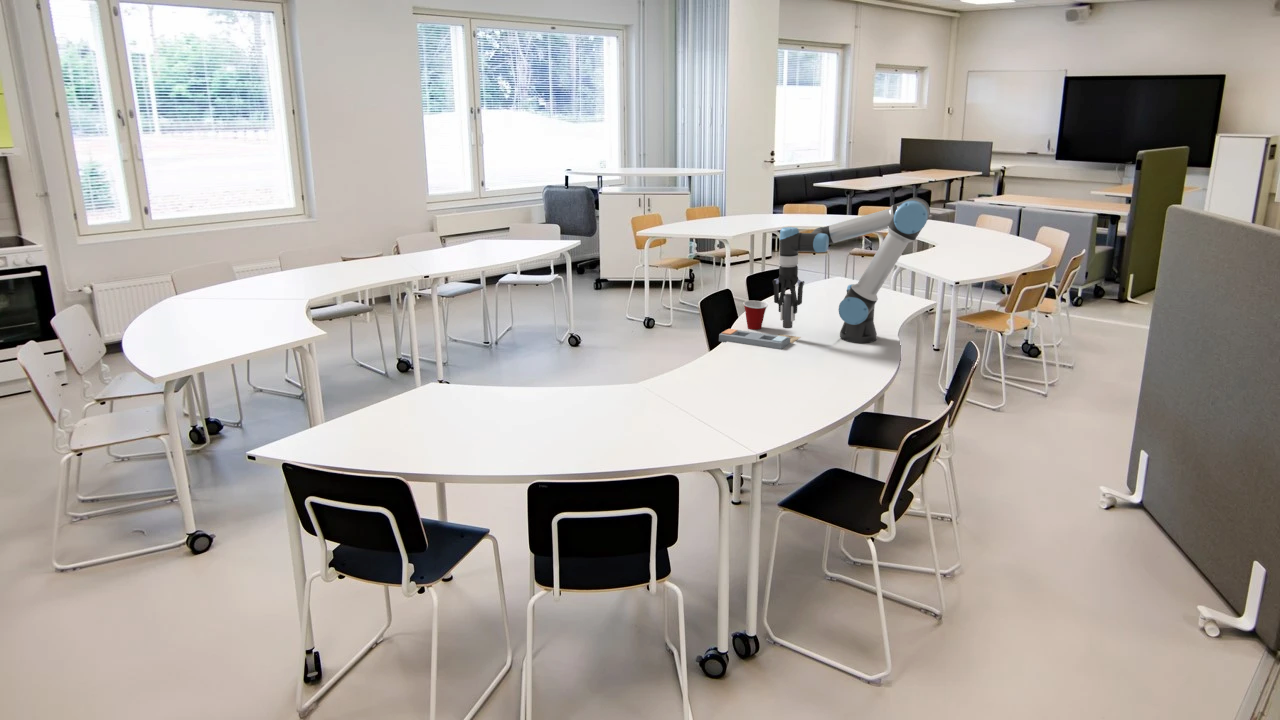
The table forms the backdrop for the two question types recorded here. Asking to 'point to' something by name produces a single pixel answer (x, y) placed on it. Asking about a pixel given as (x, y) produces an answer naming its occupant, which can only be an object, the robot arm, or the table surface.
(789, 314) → the plug
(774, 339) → the socket block
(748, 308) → the plastic cup
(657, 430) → the table surface
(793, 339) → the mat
